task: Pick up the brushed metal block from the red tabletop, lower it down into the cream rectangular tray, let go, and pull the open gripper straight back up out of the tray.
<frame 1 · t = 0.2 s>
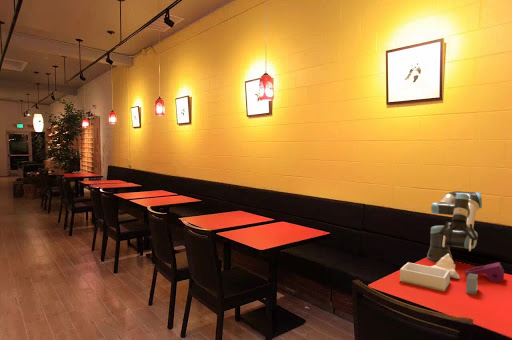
hand: (456, 248, 194), 16 cm above the table, tool tilted 35°, fingers open, 13 cm apart
cream rectangular tray: (424, 282, 183), on the table
mounting bracket: (483, 278, 191), on the table
cream faceted chunk: (445, 276, 193), on the table
brushed metal block: (471, 291, 171), on the table
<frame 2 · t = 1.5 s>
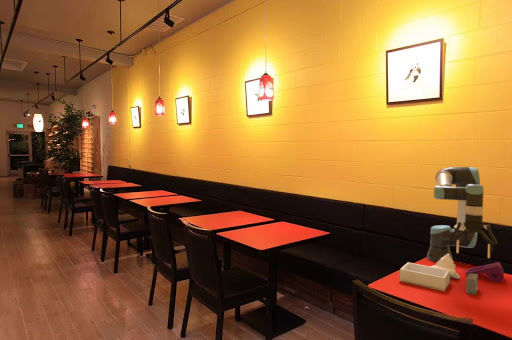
hand: (472, 254, 170), 19 cm above the table, tool pointing down, fingers open, 13 cm apart
nothing on the table moved.
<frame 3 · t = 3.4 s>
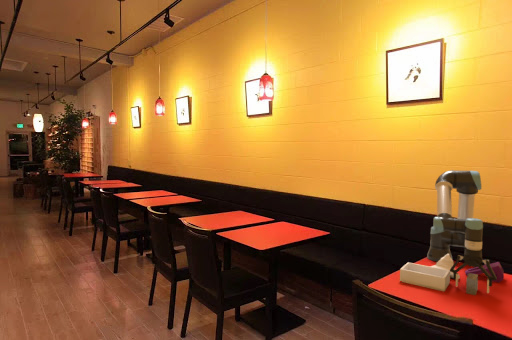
hand: (472, 288, 170), 1 cm above the table, tool pointing down, fingers open, 13 cm apart
nothing on the table moved.
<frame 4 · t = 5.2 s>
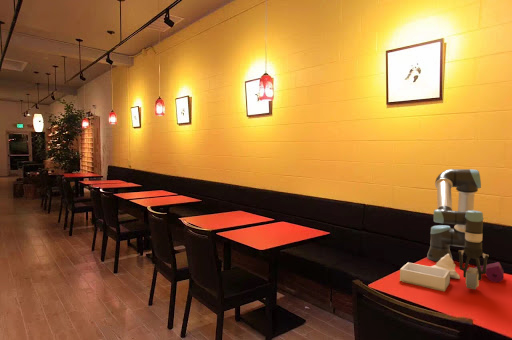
hand: (472, 284, 171), 3 cm above the table, tool pointing down, fingers closed on brushed metal block, 4 cm apart
brushed metal block: (472, 285, 171), point 3 cm above the table, touching gripper
everything else where it was.
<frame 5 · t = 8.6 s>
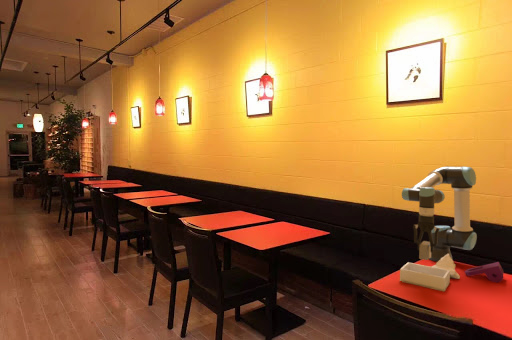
hand: (425, 256, 182), 14 cm above the table, tool pointing down, fingers closed on brushed metal block, 4 cm apart
brushed metal block: (425, 257, 182), point 14 cm above the table, touching gripper
everything else where it was.
when the fingers open (2 cm above the table, at t = 11.5 s): brushed metal block stays where it is, resting on cream rectangular tray.
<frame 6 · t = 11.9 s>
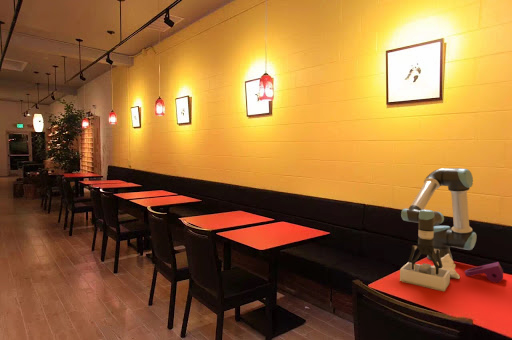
hand: (424, 277, 183), 3 cm above the table, tool pointing down, fingers open, 9 cm apart
brushed metal block: (424, 280, 183), point 1 cm above the table, touching cream rectangular tray
everything else where it was.
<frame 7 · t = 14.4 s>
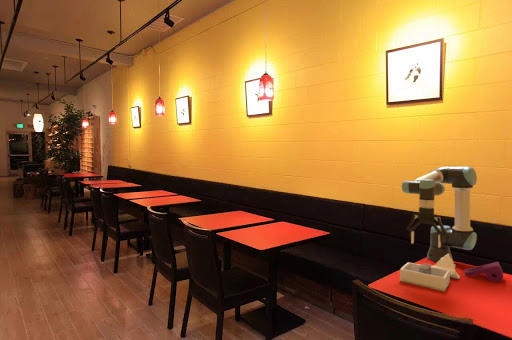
hand: (425, 245, 183), 21 cm above the table, tool pointing down, fingers open, 13 cm apart
nothing on the table moved.
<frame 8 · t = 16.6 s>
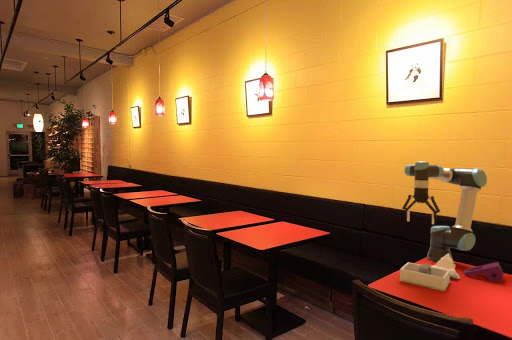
hand: (420, 222, 197), 31 cm above the table, tool pointing down, fingers open, 13 cm apart
nothing on the table moved.
at the end: brushed metal block inside the target area on the cream rectangular tray (0.2 cm from its centre), point 1.0 cm above the cream rectangular tray's base; the gripper is holding nothing; brushed metal block tilted 0° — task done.
